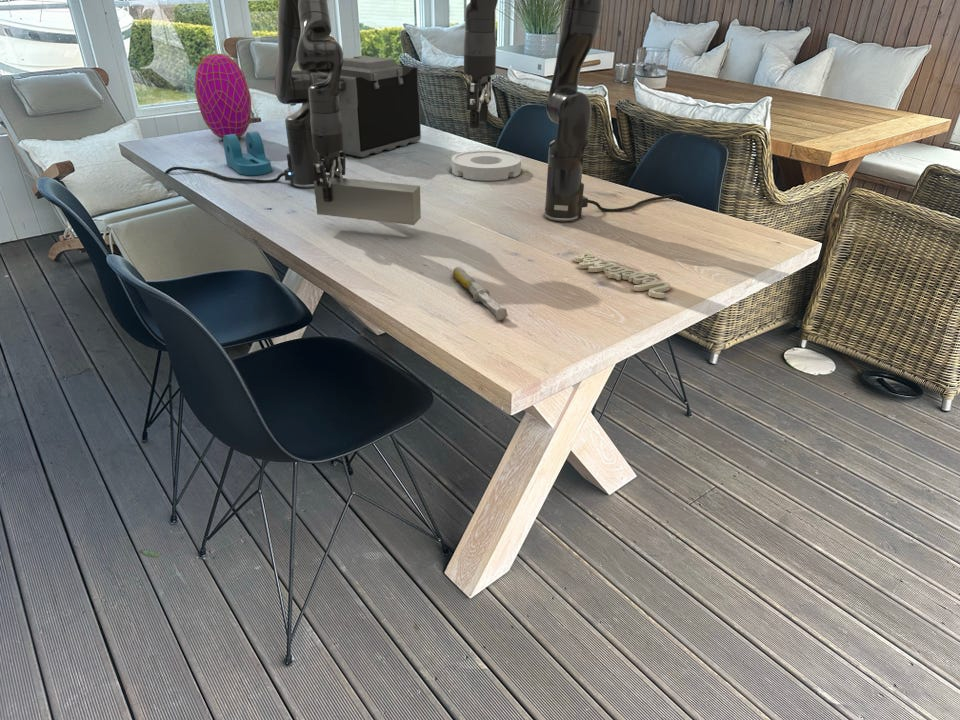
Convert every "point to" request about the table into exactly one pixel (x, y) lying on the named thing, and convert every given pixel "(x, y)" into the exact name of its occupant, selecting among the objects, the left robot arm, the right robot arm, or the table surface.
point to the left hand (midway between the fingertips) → (333, 197)
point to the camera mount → (246, 154)
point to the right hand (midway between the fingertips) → (479, 124)
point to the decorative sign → (625, 274)
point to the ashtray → (486, 165)
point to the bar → (371, 201)
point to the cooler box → (377, 104)
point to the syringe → (479, 293)
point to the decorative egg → (223, 95)
